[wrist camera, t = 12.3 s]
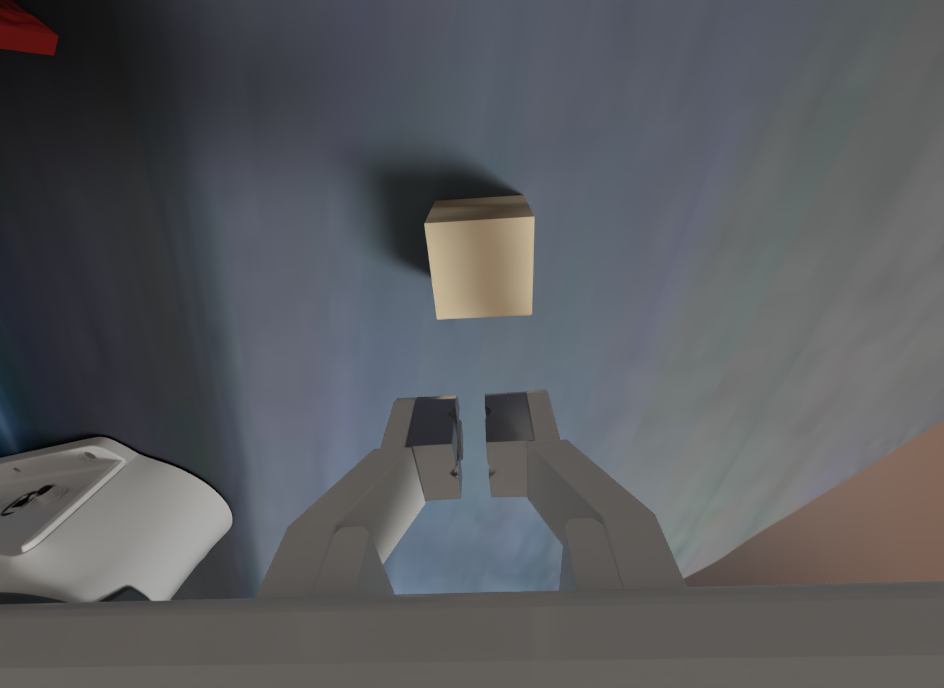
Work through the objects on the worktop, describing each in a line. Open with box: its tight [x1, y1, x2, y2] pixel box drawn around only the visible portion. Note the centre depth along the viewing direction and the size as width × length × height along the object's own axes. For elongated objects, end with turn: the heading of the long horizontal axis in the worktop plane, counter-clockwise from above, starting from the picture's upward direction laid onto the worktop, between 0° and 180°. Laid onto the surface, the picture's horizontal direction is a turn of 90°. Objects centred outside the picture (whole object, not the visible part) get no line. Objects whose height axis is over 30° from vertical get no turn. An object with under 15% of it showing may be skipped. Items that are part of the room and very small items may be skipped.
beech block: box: [424, 195, 534, 319], centre depth 20 cm, size 5×5×5 cm
